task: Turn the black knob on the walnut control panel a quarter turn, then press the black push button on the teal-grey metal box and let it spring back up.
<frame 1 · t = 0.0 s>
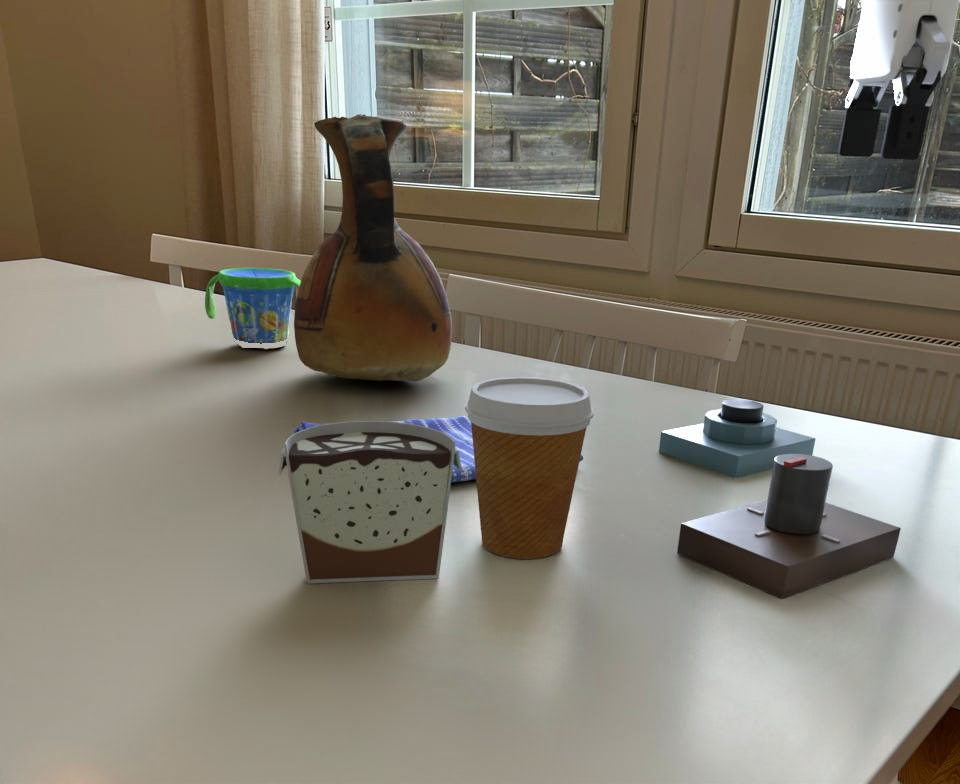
hand: (875, 157, 89), 28 cm above the table, tool pointing down, fingers open, 9 cm apart
knob panel: (785, 555, 77), on the table
disposable coffee cup: (521, 546, 77), on the table
knob: (797, 491, 74), point 5 cm above the table, hinge at 0.0°
button box: (734, 456, 100), on the table
food container: (370, 566, 73), on the table
button: (741, 412, 98), point 4 cm above the table, slide at 0.1 cm
dish towel: (434, 461, 96), on the table
ceramic pitcher: (374, 381, 126), on the table
snack cup: (262, 347, 142), on the table
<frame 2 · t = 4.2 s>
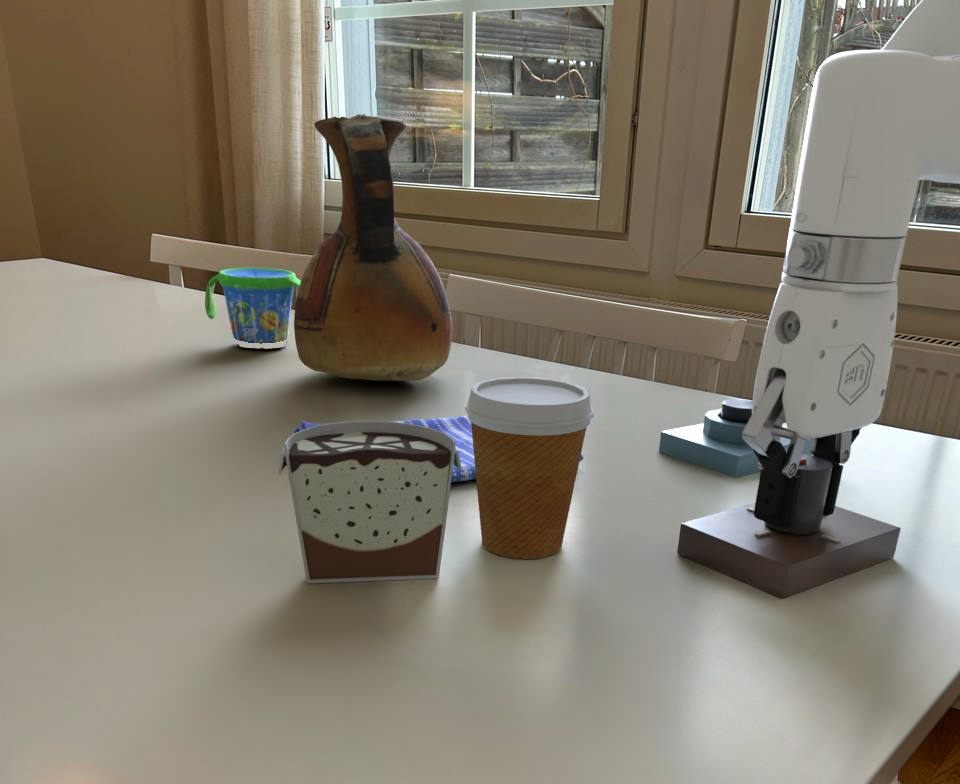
hand: (793, 514, 75), 3 cm above the table, tool pointing down, fingers closed on knob, 4 cm apart
knob: (797, 491, 74), point 5 cm above the table, hinge at 0.1°, touching gripper
everything else where it was.
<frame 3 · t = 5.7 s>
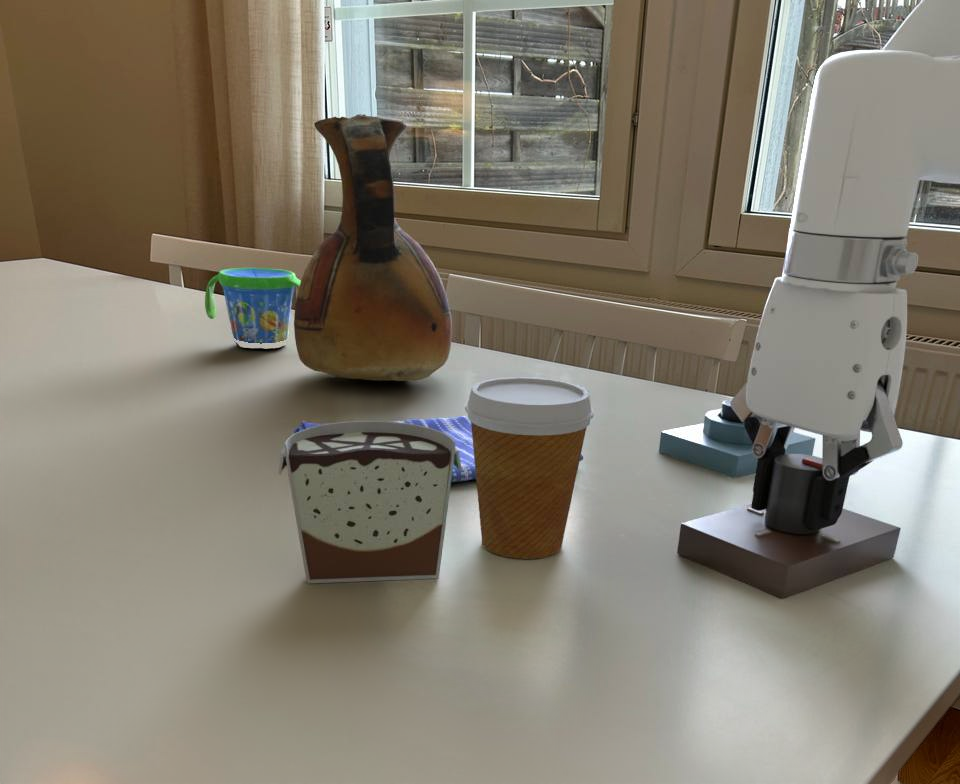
hand: (793, 514, 75), 3 cm above the table, tool pointing down, fingers closed on knob, 4 cm apart
knob: (797, 491, 74), point 5 cm above the table, hinge at 90.1°, touching gripper
everything else where it was.
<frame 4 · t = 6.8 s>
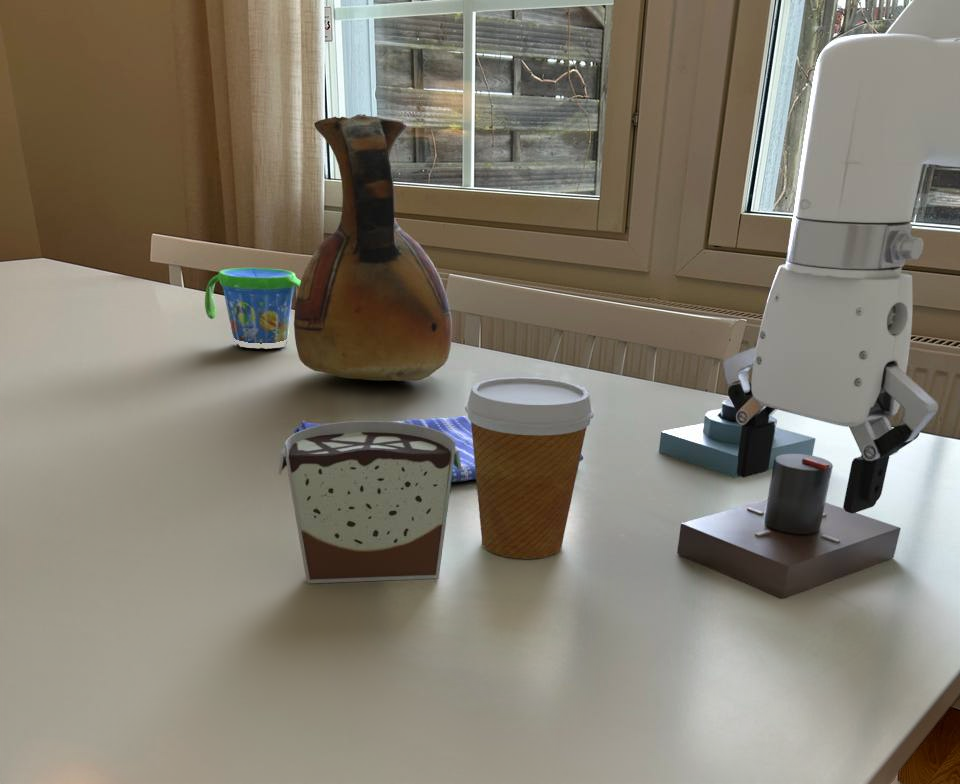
hand: (803, 490, 74), 5 cm above the table, tool pointing down, fingers open, 9 cm apart
knob: (797, 491, 74), point 5 cm above the table, hinge at 89.1°
everything else where it was.
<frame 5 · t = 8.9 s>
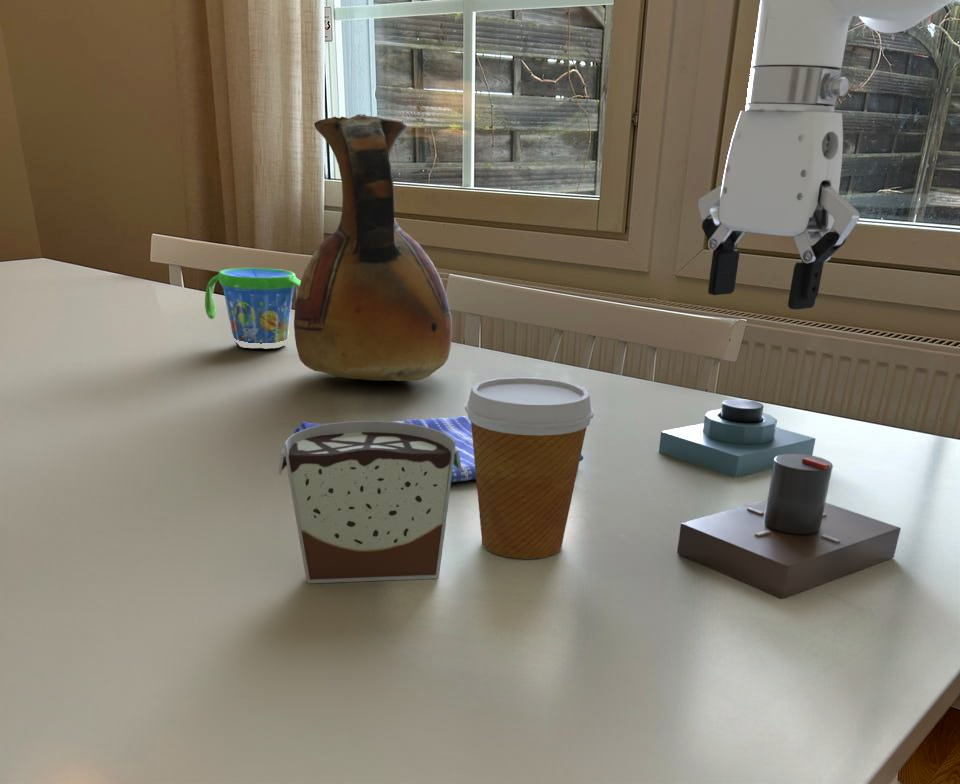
hand: (759, 300, 93), 15 cm above the table, tool pointing down, fingers open, 9 cm apart
nothing on the table moved.
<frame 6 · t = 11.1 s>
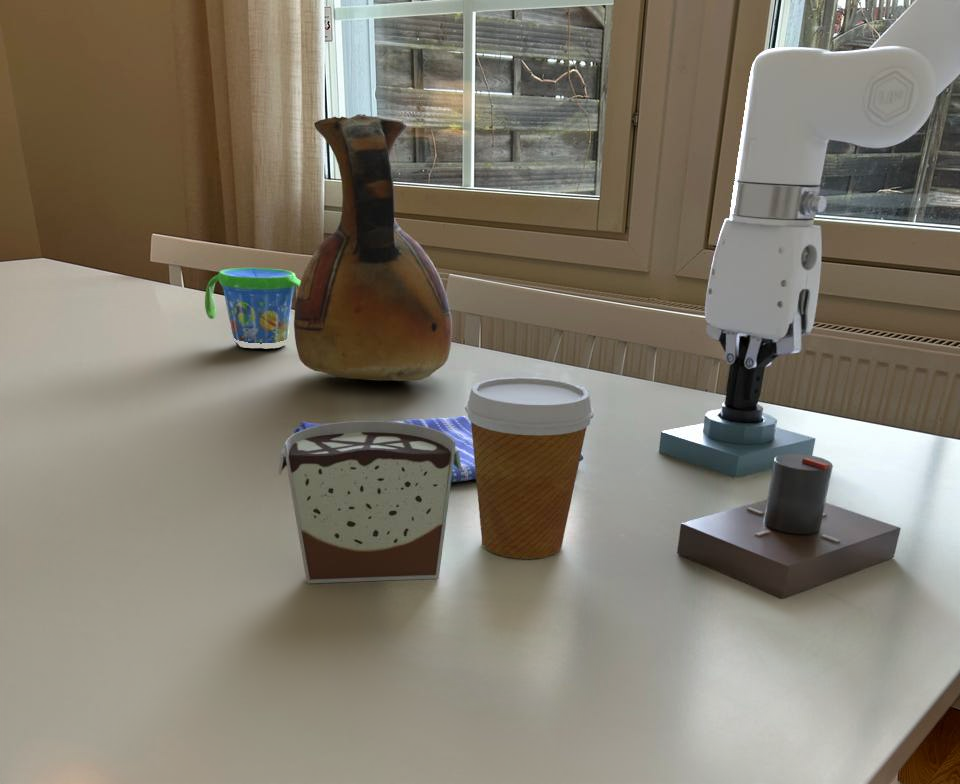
hand: (741, 405, 98), 5 cm above the table, tool pointing down, fingers closed
button: (741, 414, 99), point 4 cm above the table, slide at -0.1 cm, touching gripper
everything else where it was.
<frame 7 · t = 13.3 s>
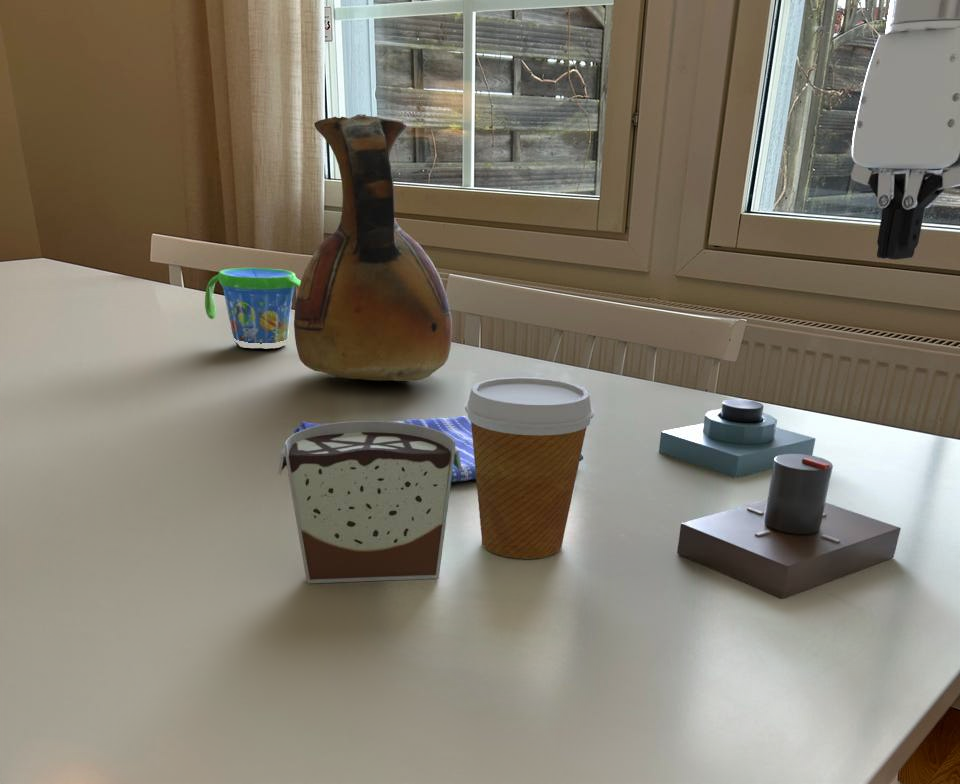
hand: (894, 257, 87), 20 cm above the table, tool pointing down, fingers closed
button: (741, 412, 98), point 4 cm above the table, slide at 0.1 cm
everything else where it was.
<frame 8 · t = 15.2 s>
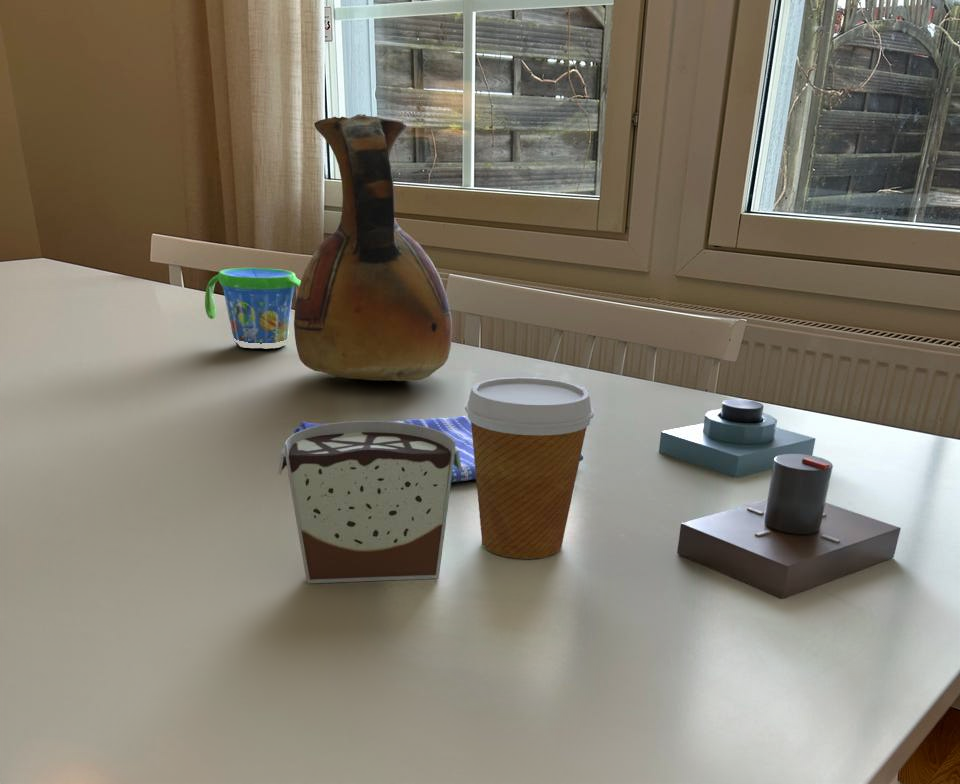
nothing on the table moved.
at the end: knob at +89° (first picture: +0°); button pushed in 1.1 cm at the most during the clip, back to where it started at the end; button slide at 0.1 cm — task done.
